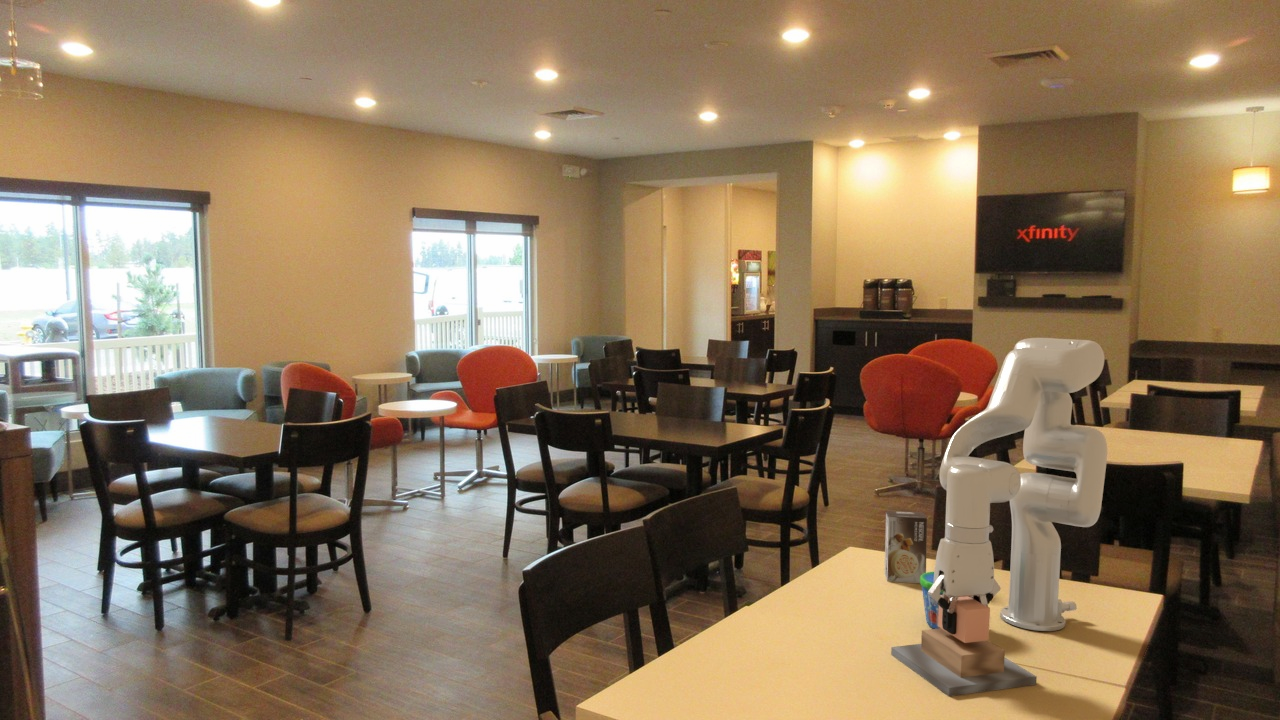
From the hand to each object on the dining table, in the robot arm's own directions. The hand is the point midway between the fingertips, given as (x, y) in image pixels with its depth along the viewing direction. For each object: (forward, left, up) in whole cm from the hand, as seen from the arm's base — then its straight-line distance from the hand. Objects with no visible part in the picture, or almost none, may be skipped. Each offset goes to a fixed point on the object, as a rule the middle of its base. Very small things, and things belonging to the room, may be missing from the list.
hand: (962, 629), depth 163 cm
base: (0, 0, -8) cm, 8 cm away
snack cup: (-10, -19, -8) cm, 23 cm away
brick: (0, 0, -1) cm, 1 cm away
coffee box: (-19, -48, -8) cm, 52 cm away
